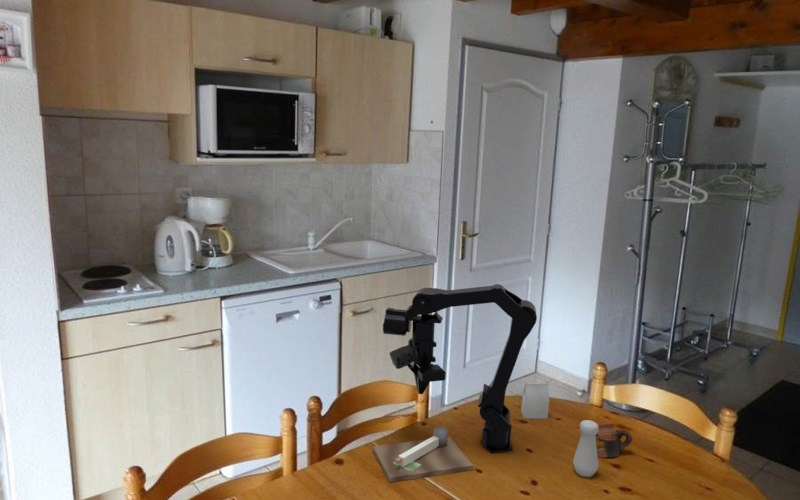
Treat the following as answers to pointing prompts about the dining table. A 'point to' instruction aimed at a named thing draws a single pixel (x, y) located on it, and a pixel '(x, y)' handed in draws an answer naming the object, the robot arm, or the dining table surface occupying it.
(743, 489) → the dining table surface
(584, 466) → the salt shaker
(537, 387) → the grey block
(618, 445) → the pottery mug
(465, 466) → the board
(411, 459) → the lever
